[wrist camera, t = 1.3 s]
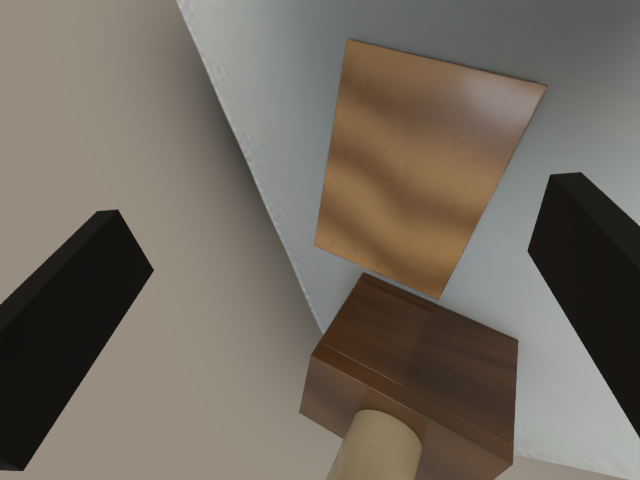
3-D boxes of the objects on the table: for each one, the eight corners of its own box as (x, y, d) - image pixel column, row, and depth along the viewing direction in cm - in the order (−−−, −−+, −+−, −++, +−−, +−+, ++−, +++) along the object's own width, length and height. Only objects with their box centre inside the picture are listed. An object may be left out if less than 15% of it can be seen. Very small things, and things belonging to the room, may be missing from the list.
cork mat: (348, 39, 26) (346, 39, 26) (547, 85, 22) (547, 86, 22) (315, 243, 38) (313, 245, 38) (439, 297, 34) (438, 299, 34)
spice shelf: (363, 271, 37) (310, 355, 28) (518, 340, 33) (513, 464, 24) (346, 329, 43) (298, 412, 35) (475, 393, 39) (458, 508, 30)
